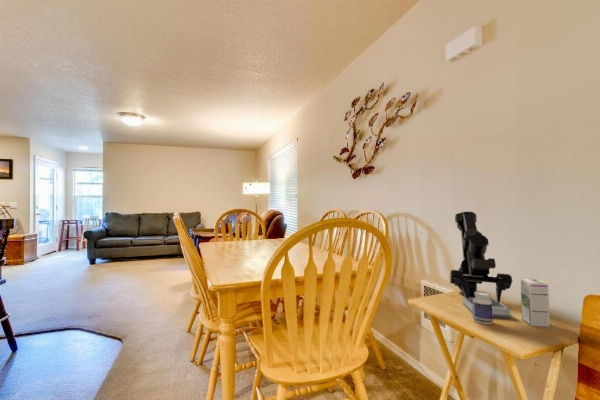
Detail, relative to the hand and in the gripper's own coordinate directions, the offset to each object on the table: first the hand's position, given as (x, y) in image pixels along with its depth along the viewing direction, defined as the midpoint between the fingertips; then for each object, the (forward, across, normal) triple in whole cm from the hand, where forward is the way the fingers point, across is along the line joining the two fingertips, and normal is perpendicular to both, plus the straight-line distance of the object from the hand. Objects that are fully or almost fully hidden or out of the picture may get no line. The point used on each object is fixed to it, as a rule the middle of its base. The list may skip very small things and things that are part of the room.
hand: (482, 300), depth 98 cm
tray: (-4, +3, +14) cm, 15 cm away
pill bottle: (+5, 0, +6) cm, 8 cm away
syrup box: (+1, +16, +10) cm, 19 cm away
